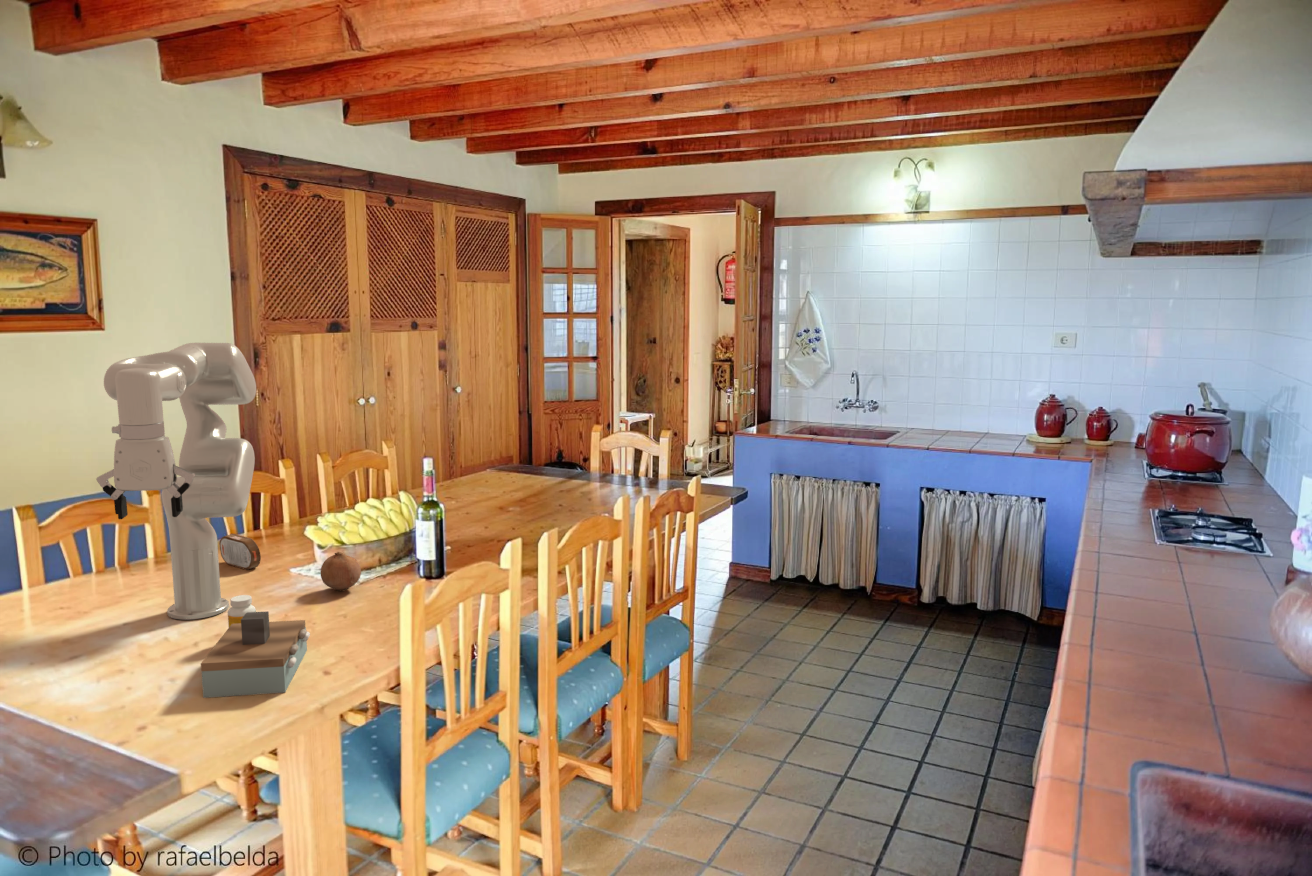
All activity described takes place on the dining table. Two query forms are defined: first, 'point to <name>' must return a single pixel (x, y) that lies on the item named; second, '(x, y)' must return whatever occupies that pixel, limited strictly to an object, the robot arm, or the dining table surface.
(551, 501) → the dining table surface
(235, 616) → the supplement bottle
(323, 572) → the onion
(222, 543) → the tin
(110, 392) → the robot arm
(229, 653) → the door
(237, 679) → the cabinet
